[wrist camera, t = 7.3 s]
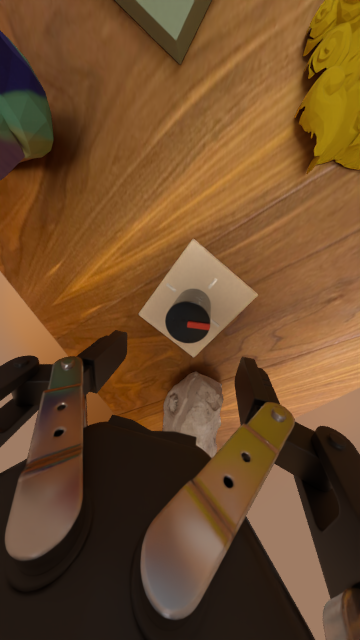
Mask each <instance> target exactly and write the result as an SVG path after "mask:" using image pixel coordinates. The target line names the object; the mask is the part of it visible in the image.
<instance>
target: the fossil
mask: <svg viewBox="0 0 360 640" xmlns="http://www.w3.org/2000/svg"><path fill="white" fill-rule="evenodd" d="M221 386H222V384H220V383H219V382H216V381H215V380H214V379H212V378H210V377H208V376H205V375H201V374H200V373H198V372H197V371H196V372H193V373H191V374H189V375H187V376H186V378H184V379H183V380H181V381H180V383H178V384H176V385H175V386H173V388H172V389H171V390H170V391H169V392H168V395H167V397H166V399H165V401H164V414H165V415H164V419H163V424H164V425H163V431H176V432H179V433H183V434H187V435H191V436H194V437H197V439H196V445H197V446H198V447H200V448H201V449H203V450H204V451H205V452H206V453H207V454H208V455H209V456H210V457H211V458H213V457H214V455H215V454H216V452H217V444H216V433H217V430H218V428H219V427H220V426H221V418H220V416H219V415H220V410H221V406H222V403H223V394H222V388H221Z"/></svg>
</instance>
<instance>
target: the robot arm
mask: <svg viewBox="0 0 360 640" xmlns="http://www.w3.org/2000/svg"><path fill="white" fill-rule="evenodd" d="M126 354H127V333H126V332H122V331H117V330H115V331H114V332H113V333H111V334H110V335H109V336H104V337H102V338H100V339H98V340H97V341H96V342H95V343H93V344H92V345H91V346H89V347H88V348H87V349H85V350H84V351H83V352H81V353H80V354H79V355H78V356H76V357H75V356H70V357H65V358H62V359H59V360H58V361H56V362H55V363H54V364H39V360H38V358H37V357H35V356H22V357H18V358H15V359H12V360H10V361H8V362H7V363H5V364H3V365H2V366H0V401H1V400H2V399H3V398H5V397H6V396H7V395H9V394H10V393H12V396H13V399H12V400H10V401H9V402H8V403H6V404H5V405H4V406H3V407H2V408H0V447H1V446H2V445H3V444H4V443H5V442H6V441H7V440H8V439H9V438H10V437H11V436H12V435H13V434H14V433H15V432H16V431H17V430H18V429H19V428H20V427H21V426H22V425H23V424H24V423H25V422H26V421H27V420H28V419H30V418H31V417H32V416H33V414H35V413H36V412H37V411H38V414H37V419H36V423H35V428H34V432H33V436H32V441H31V445H30V449H29V453H28V458H27V459H25V460H24V461H22V462H20V463H18V464H16V465H15V466H13V467H11V468H9V469H7V470H5V471H4V472H2V473H0V640H315V639H314V637H313V635H312V633H311V631H310V629H309V627H308V625H307V624H306V622H305V620H304V618H303V617H302V615H301V613H300V611H299V609H298V608H297V606H296V604H295V602H294V600H293V599H292V597H291V595H290V593H289V592H288V590H287V588H286V586H285V585H284V583H283V581H282V579H281V577H280V576H279V574H278V572H277V570H276V568H275V567H274V565H273V563H272V561H271V560H270V558H269V556H268V555H267V552H266V551H265V549H264V547H263V545H262V544H261V542H260V540H259V538H258V537H257V535H256V533H255V531H254V529H253V528H252V526H251V524H250V522H249V520H248V519H247V517H246V515H247V513H248V511H249V509H250V507H251V505H252V503H253V502H254V500H255V498H256V496H257V494H258V492H259V491H260V489H261V487H262V485H263V483H264V481H265V479H266V478H267V476H268V474H269V472H270V470H271V468H272V466H273V464H276V465H278V466H280V467H281V468H283V469H285V470H286V471H288V472H290V473H291V474H293V475H294V478H295V482H296V485H297V488H298V492H299V495H300V498H301V502H302V505H303V508H304V511H305V515H306V518H307V522H308V525H309V528H310V531H311V535H312V538H313V542H314V545H315V548H316V552H317V555H318V558H319V562H320V565H321V568H322V572H323V575H324V578H325V582H326V585H327V588H328V592H329V595H330V598H331V599H330V600H329V601H328V602H327V603H326V604H325V606H324V610H323V626H324V632H325V637H326V640H360V454H359V453H358V451H357V450H356V448H355V447H354V445H353V444H352V443H351V442H350V441H349V440H348V439H347V438H346V437H345V436H344V435H342V434H341V433H339V432H338V431H336V430H334V429H332V428H330V427H326V426H320V427H318V428H317V429H316V431H313V430H311V429H309V428H307V427H304V426H303V425H300V424H299V423H297V422H295V419H294V417H293V415H292V414H291V413H290V412H289V411H288V410H287V409H286V408H285V407H283V406H282V405H280V403H279V401H278V398H277V396H276V393H275V391H274V389H273V387H272V384H271V382H270V379H269V377H268V375H267V374H266V372H265V371H264V370H263V369H261V368H258V367H257V364H256V362H255V360H254V359H251V358H246V357H242V358H241V360H240V363H239V367H238V370H237V373H236V376H235V390H236V397H237V404H238V410H239V417H240V424H241V426H240V427H239V428H238V430H237V431H236V432H235V433H234V434H233V435H232V436H231V437H230V439H229V440H228V441H227V442H226V443H225V444H224V445H223V446H222V448H221V449H220V450H219V451H218V452H217V453H216V454H215V455H214V457H213V458H211V457H210V456H209V455H208V454H207V453H206V452H205V451H204V450H203V449H201V448H200V447H198V446H197V445H196V439H197V437H194V436H191V435H187V434H183V433H179V432H176V431H151V430H149V429H147V428H145V427H144V426H142V425H140V424H138V423H137V422H135V421H133V420H131V419H127V418H123V417H119V416H116V415H112V416H111V418H110V420H109V421H108V422H99V423H95V424H92V425H89V426H88V425H87V403H86V402H87V400H86V394H88V392H93V393H97V392H98V391H99V390H100V389H101V387H102V386H103V385H104V384H105V383H106V381H107V380H108V379H109V378H110V376H111V375H112V374H113V373H114V372H115V370H116V369H117V368H118V367H119V365H120V364H121V363H122V362H123V361H124V359H125V357H126Z"/></svg>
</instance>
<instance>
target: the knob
mask: <svg viewBox="0 0 360 640" xmlns="http://www.w3.org/2000/svg"><path fill="white" fill-rule="evenodd" d="M210 320H211V302H210V299H209V297H208V296H207V295H206V293H204V292H203V291H201V290H199V289H188V290H185V291H184V292H182V293H181V294H180V295H179V297H178V298H177V299H176V301H175V302H174V303H173V305H172V306H171V308H170V309H169V310H168V312H167V314H166V318H165V324H166V328H167V330H168V332H169V334H170V335H171V336H172V337H173V338H174V339H176V340H177V341H179V342H182V343H195V342H198V341H200V340H202V339H203V338H204V337H205V336H206V335H207V334H208V332H209V329H210Z"/></svg>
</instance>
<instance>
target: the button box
mask: <svg viewBox="0 0 360 640" xmlns="http://www.w3.org/2000/svg"><path fill="white" fill-rule="evenodd" d="M115 1H116V2H117V3H118V4H119V5H120V6H121V7H122V8H123V9H124V10H125V11H126V12H127V13H128V14H129V15H130V16H131V17H132V18H133V19H134V20H135V21H136V22H137V23H138V24H139V25H140V26H141V27H142V28H143V29H144V30H145V31H146V32H147V33H148V34H149V35H150V36H151V37H152V38H153V39H154V40H155V41H156V42H158V43H159V44H160V45H161V46H162V47H163V48H164V49H165V50H166V51H167V52H168V53H169V54H170V55H171V56H172V57H173V58H174V59H175V60H176V61H177V62H178V63H179V64H181V62H182V60H183V58H184V56H185V54H186V52H187V50H188V48H189V46H190V44H191V42H192V40H193V38H194V35H195V33H196V31H197V29H198V27H199V25H200V23H201V21H202V19H203V17H204V15H205V13H206V11H207V9H208V6H209V4H210V2H211V0H115Z"/></svg>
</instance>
